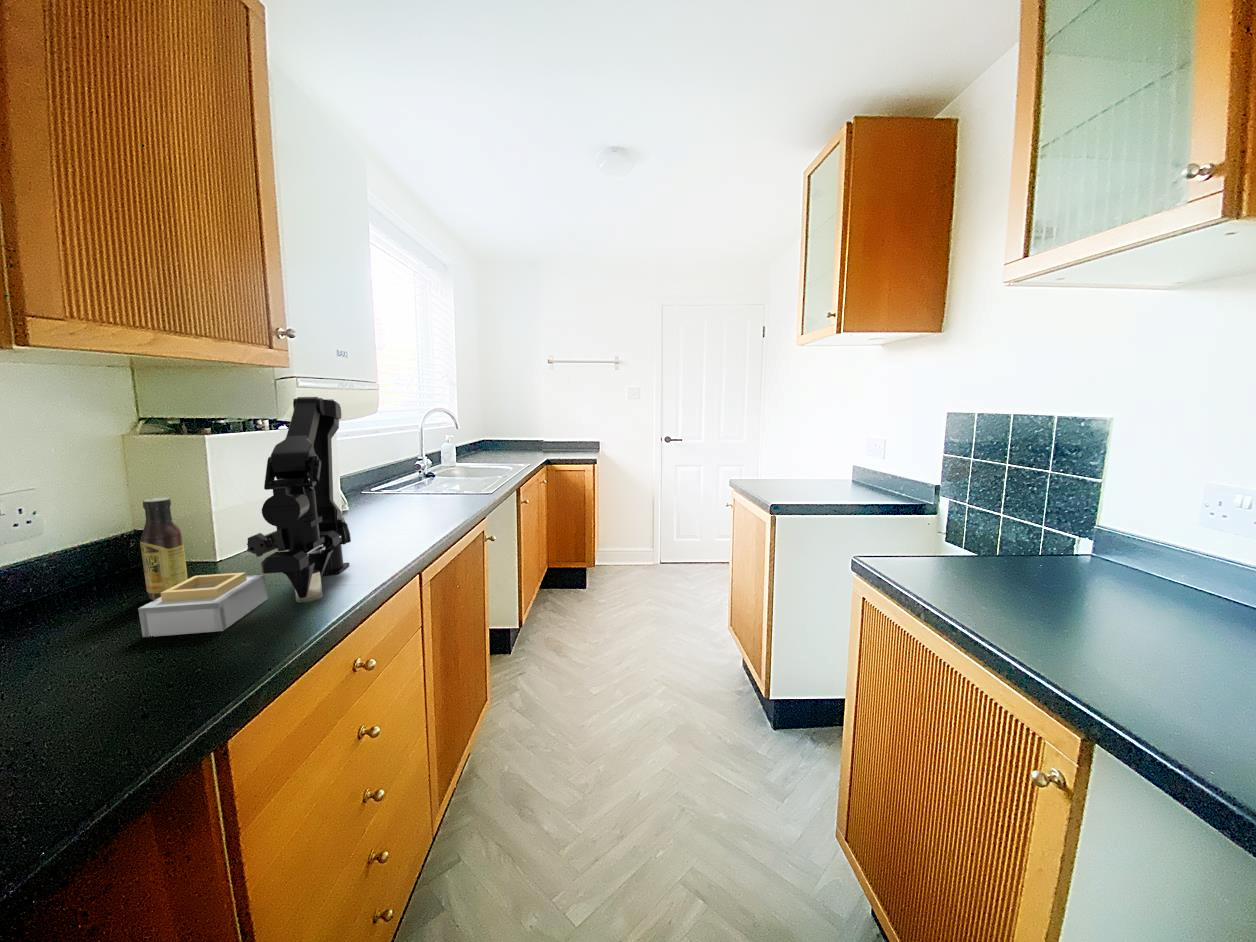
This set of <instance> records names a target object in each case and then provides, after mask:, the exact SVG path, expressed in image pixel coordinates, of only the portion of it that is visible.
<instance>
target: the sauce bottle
mask: <svg viewBox="0 0 1256 942" xmlns="http://www.w3.org/2000/svg"><path fill="white" fill-rule="evenodd" d="M171 505H172V500H171V498H170V497H153V498H148V499H144V500H143V501H142V507H143V509H144V515H145V524H144V526H143V527H144V528H143V530H142V534H141V536H140V541H139V543H140V550H141V560H142V565H143V573H144V579H145V588H146V592H147V593H148V598H149V600H151V601H154V600H156V599H158V598H160V597H161V592H163V591H165V590H167V589H169V588H171V587H173V586H175V585H177V584H179V583H181V582H183V581H185V580H187V579H189V578H188V570H187V562H186V554H185V547H184V543H183V537H182V531H181V528H179V526H178V525H177V524H176V523H175V522H173V516H172V512H171V511H172V509H171Z"/></svg>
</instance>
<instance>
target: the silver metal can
mask: <svg viewBox="0 0 1256 942" xmlns="http://www.w3.org/2000/svg"><path fill="white" fill-rule="evenodd" d="M294 593H295V601H296V602H297V603H301V602H303V603H310V602H314V601H317V600H319V599H322V598H323V588H322V577H320V571H319V570H313V573H312V577H311V581H310V586H309V590H308V593H307V597H305V598H300V597H299V596H298V594H297V592H296V590H295V589H294Z"/></svg>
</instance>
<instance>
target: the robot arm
mask: <svg viewBox="0 0 1256 942" xmlns="http://www.w3.org/2000/svg"><path fill="white" fill-rule="evenodd" d="M292 406H293V412H292V416H291V419H290V423H289V424H288V425H289V427H288V429H287V433H286V437H285V439H284V440H282V441H280V442H279V443H277V444H275V446H274V448H273V449H272V452H271V454H270V456H268V457H267V458H268V459H267V461H266V463H267V464H266V470H265V476H264V477H265V478H264V489H263V490H267V491H269V490H272V496H270V497H268V498H267V499H266V500H265V501H264V502H263V505H262V508H261V514H262V517H263V519H264V520H265V521H266V523H268V524H270V525H271V526H273V527H276V530H275V531H271V532H270V533H267V534H264V533H261V532H259V533H257V534H255V535H254V534H253V535H251V536H249V537H247V543H246V545H247V548H246V550H247V552H249V553H250V554H254V555H255V556H256V558H260V557H262V556H264V554H267V553H269V552H272V551H274V550H276V549H277V551H275V552H273V553H271V554H270V555H268V556H266V557H265V558H264V559H263V560H262V561H261V562H260V565H261V573H262V574H263V575H265V574H266V575H267V574H281V573H282V574H284V575H286V577H287V578H288V579H289V581H290V583H291V585H292V587H293V589H294V591H295V590H296V592H297V594H298V596H299V597H300V598H305V597H307V593H308V590H309V586H310V581H311V577H312V573H313V570H319V571H320V577H321V578H323V575H335V574H336V575H337V574H340V573H342V572H343V571H344V570H345V569H346V568H348V567H349V566H350V562H344V557H343V555H344V554H343V547H342V546H343V545H346V544H348V543H351V541H352V539H351V532H350V529H349V526H348V523H347V522H346V521H345V518H344V517H343V512H342V510H341V509H340V508H339V506H338V505H337V504H336V502H335V501H334V483H333V479H334V478H333V449H332V447H333V446H332V439H333V437H334V436H335V434H336V433H337V431H338V430H339V428H340V420H342V409H341V404H340V403H338V402H337V401H335V399H332V398H331V399H328V398H327V399H324V398H322V397H318V396H298V397H296V398H294V399H293V403H292Z"/></svg>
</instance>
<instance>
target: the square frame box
mask: <svg viewBox="0 0 1256 942" xmlns="http://www.w3.org/2000/svg"><path fill="white" fill-rule="evenodd" d="M265 576H266V575H265V574H254V575H251V574H250V575H247V572H245V571H244V572H231V573H218V574H217V573H215V574H214V573H213V574H200V575H193V576H191V577H189V578H188V579H187V580H185V581H183V582H181V583H179V584H177V585H175V586H173V587H171V588H169V589H167V590H165V591H163V592H161V597H160V598H158V599H156V600H151V601H150V602H149V603H146V604H144V605H143V606H140V607H139V608H137V611H138V616H139V622H140V629H141V634H142V635H141V636H142V638H153V637H163V636H164V637H165V636H177V635H178V636H179V635H188V634H190V635H191V634H201V633H214V632H224V631H225V630H226V629H228V628H229V627H231V626H232V625H233V624H235V623H236V622H237V621H239V620H241V619H242V618H244V617H245V616H246V615H247V614H249V613H250V612H252V611H253V610H255V609H256V608H258V607H259V606H260V605H262V604H263V603H265V602H266V601H267V600H268V599H269V598H268V592H267V591H268V590H267V583H266V577H265ZM150 636H151V637H150ZM152 636H153V637H152Z"/></svg>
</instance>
